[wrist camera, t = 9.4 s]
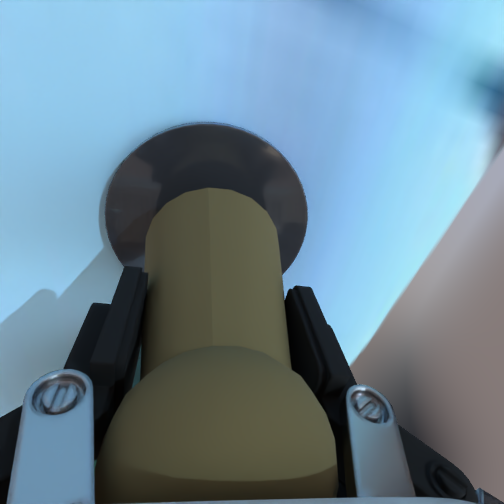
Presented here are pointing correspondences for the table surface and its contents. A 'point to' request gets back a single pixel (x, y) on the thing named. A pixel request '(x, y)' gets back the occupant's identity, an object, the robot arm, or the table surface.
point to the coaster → (202, 184)
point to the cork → (215, 370)
